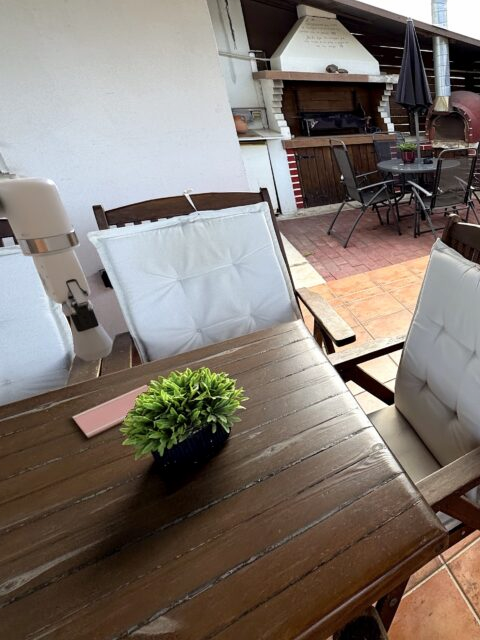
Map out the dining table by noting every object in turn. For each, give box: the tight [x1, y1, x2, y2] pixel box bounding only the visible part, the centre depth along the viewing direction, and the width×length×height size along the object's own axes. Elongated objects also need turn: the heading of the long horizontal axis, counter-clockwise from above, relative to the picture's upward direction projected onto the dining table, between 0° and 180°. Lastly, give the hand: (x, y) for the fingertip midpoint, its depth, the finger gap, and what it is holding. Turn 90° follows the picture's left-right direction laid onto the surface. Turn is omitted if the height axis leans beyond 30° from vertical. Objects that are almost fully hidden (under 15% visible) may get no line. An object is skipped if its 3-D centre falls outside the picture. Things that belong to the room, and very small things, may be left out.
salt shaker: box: [61, 299, 114, 362], centre depth 84 cm, size 6×6×13 cm
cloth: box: [72, 384, 149, 439], centre depth 91 cm, size 13×11×1 cm
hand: (84, 324), depth 83 cm, fingers closed on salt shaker, 4 cm apart
